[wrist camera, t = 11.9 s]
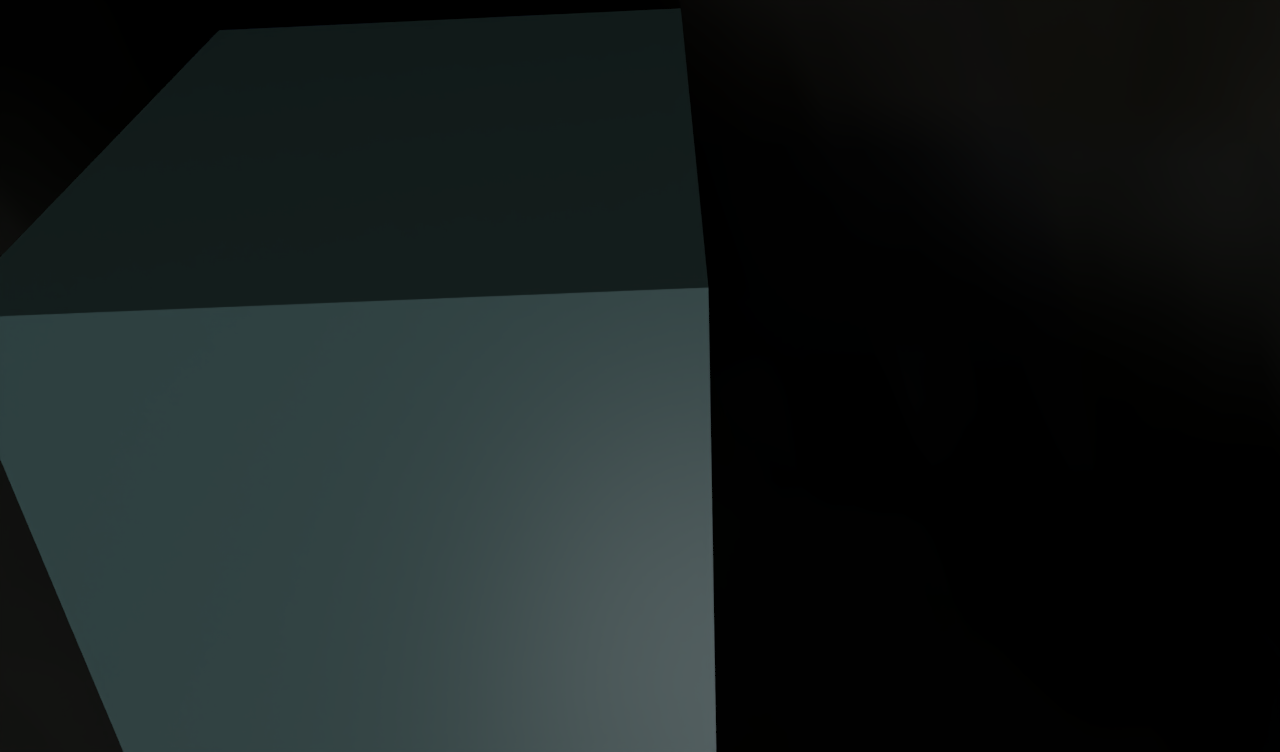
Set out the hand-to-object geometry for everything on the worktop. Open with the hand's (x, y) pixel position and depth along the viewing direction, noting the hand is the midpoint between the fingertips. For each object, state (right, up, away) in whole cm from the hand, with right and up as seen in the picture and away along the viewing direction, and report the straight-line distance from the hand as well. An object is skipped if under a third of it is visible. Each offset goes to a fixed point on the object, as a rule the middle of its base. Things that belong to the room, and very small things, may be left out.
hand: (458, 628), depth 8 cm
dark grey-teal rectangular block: (0, -3, +5) cm, 6 cm away
